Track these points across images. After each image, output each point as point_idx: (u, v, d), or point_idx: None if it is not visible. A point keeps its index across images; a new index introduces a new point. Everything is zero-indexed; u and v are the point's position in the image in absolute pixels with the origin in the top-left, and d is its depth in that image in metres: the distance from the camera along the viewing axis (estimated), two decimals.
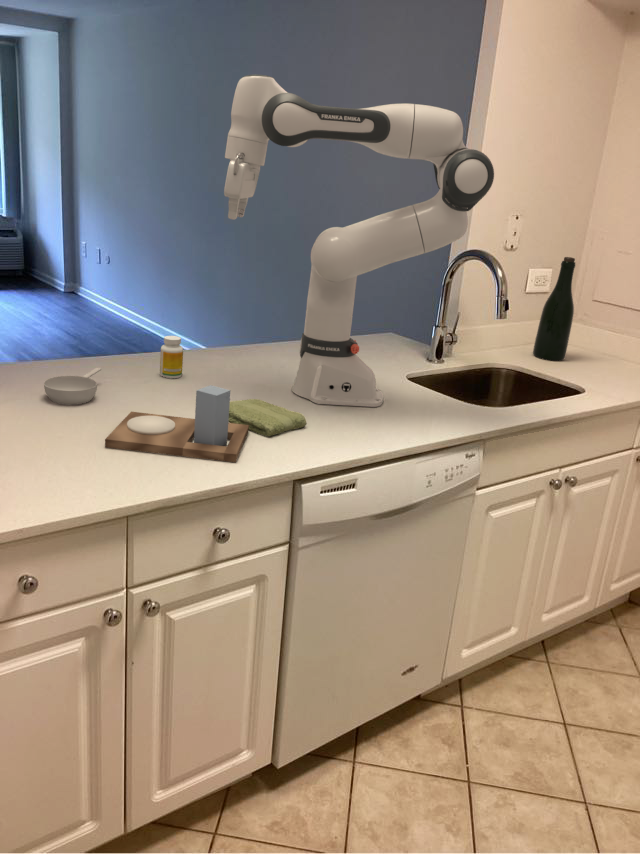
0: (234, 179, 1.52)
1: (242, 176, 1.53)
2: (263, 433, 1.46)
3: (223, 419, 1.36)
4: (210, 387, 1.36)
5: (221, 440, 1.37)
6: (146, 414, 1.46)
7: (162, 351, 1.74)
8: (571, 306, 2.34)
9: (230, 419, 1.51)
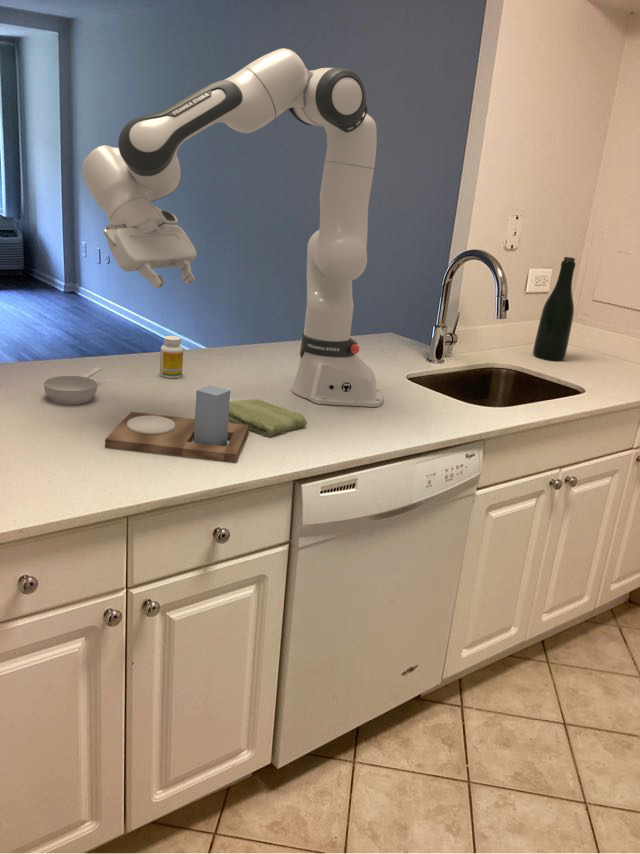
0: (117, 249, 1.32)
1: (121, 240, 1.32)
2: (263, 433, 1.46)
3: (223, 419, 1.36)
4: (210, 387, 1.36)
5: (221, 440, 1.37)
6: (146, 414, 1.46)
7: (162, 351, 1.74)
8: (571, 306, 2.34)
9: (230, 419, 1.51)
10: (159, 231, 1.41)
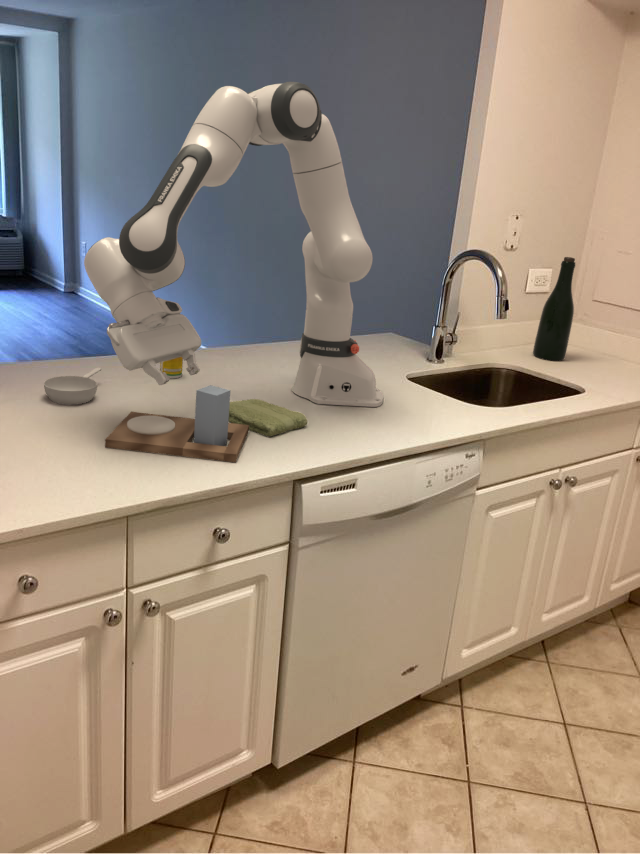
0: (121, 349, 1.30)
1: (124, 340, 1.29)
2: (265, 433, 1.46)
3: (223, 419, 1.36)
4: (210, 387, 1.36)
5: (221, 440, 1.37)
6: (146, 414, 1.46)
7: None
8: (571, 306, 2.34)
9: (231, 419, 1.51)
10: (163, 324, 1.38)
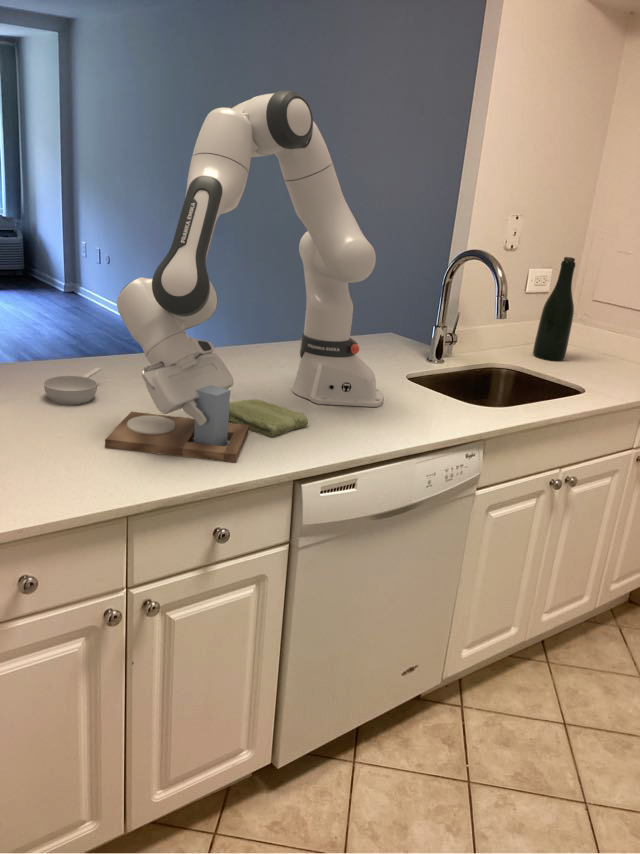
0: (156, 393, 1.28)
1: (160, 384, 1.28)
2: (266, 433, 1.46)
3: (223, 419, 1.36)
4: (210, 387, 1.36)
5: (221, 440, 1.37)
6: (146, 414, 1.46)
7: None
8: (571, 306, 2.34)
9: (232, 420, 1.51)
10: (196, 364, 1.37)
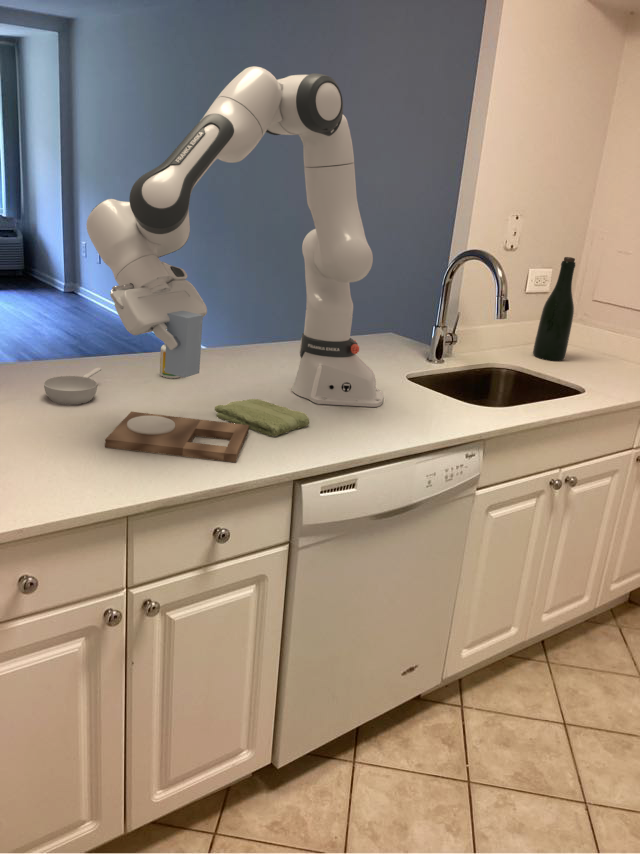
0: (125, 312, 1.25)
1: (128, 303, 1.24)
2: (269, 433, 1.46)
3: (195, 345, 1.32)
4: (182, 312, 1.33)
5: (193, 367, 1.34)
6: (146, 414, 1.46)
7: (162, 351, 1.74)
8: (571, 306, 2.34)
9: (234, 420, 1.51)
10: (168, 289, 1.33)
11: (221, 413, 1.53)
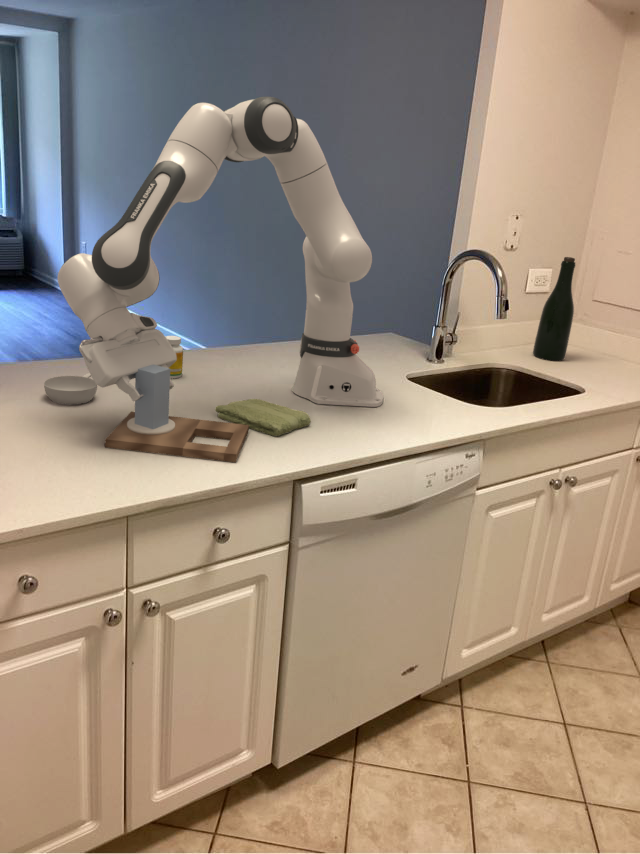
0: (93, 366, 1.29)
1: (96, 357, 1.29)
2: (271, 433, 1.46)
3: (163, 397, 1.37)
4: (150, 366, 1.38)
5: (161, 419, 1.39)
6: None
7: None
8: (571, 306, 2.34)
9: (235, 420, 1.51)
10: (137, 340, 1.38)
11: (222, 413, 1.53)
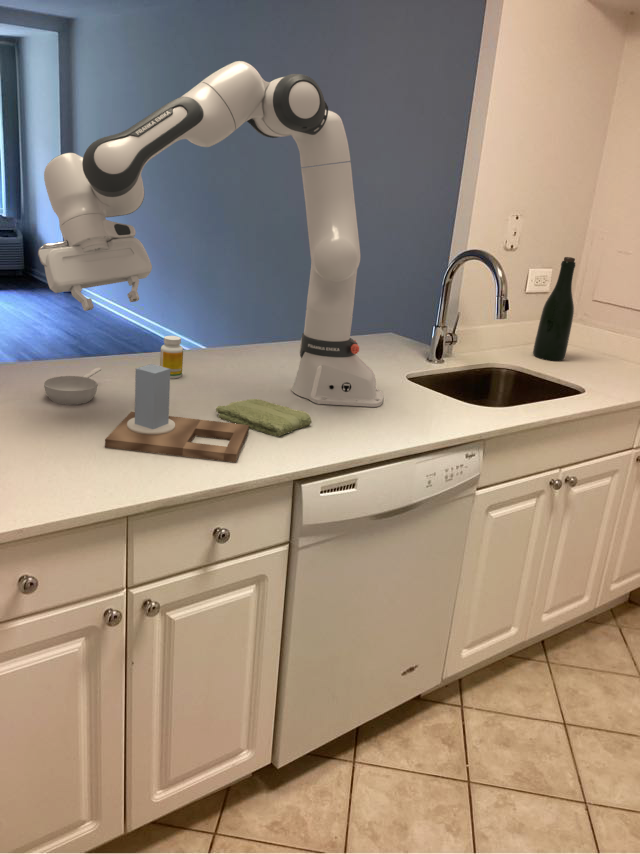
0: (47, 271, 1.35)
1: (49, 263, 1.34)
2: (273, 433, 1.47)
3: (163, 397, 1.37)
4: (150, 366, 1.38)
5: (161, 419, 1.39)
6: None
7: (162, 351, 1.74)
8: (571, 306, 2.34)
9: (236, 420, 1.51)
10: (105, 248, 1.39)
11: (223, 414, 1.53)
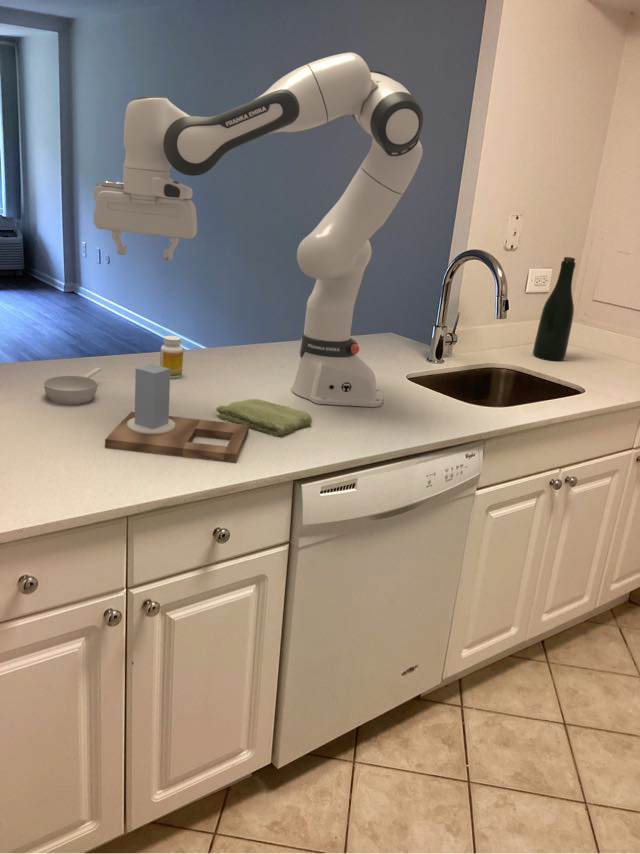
0: None
1: (95, 204, 1.43)
2: (274, 433, 1.47)
3: (163, 397, 1.37)
4: (150, 366, 1.38)
5: (161, 419, 1.39)
6: None
7: (162, 351, 1.74)
8: (571, 306, 2.34)
9: (237, 420, 1.51)
10: (150, 204, 1.41)
11: (224, 414, 1.53)
